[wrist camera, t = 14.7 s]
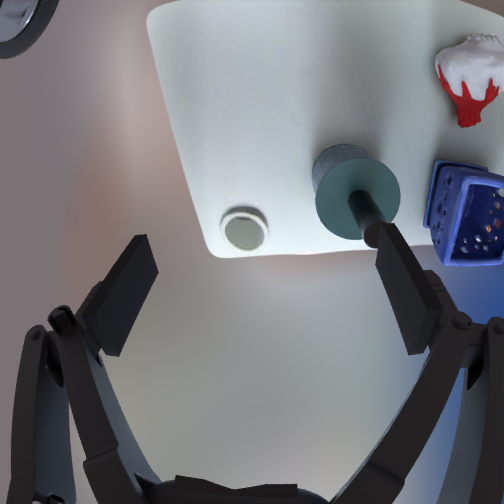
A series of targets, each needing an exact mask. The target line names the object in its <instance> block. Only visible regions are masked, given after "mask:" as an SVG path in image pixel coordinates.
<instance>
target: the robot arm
mask: <svg viewBox="0 0 504 504" xmlns="http://www.w3.org/2000/svg"><path fill="white" fill-rule="evenodd" d="M40 2H41V0H0V42H4V41H10V40H13V39H15V38H16V37H18V36H19V35H20V34H21V33H22V32H23V31H24V30H25V29H26V28H27V26H28V25H29V24H30V22H31V21H32V19H33V17H34V16H35V14H36V12H37V10H38V7H39V5H40ZM375 265H376V268H377V270H378V272H379V274H380V277H381V280H382V282H383V285H384V287H385V290H386V293H387V295H388V298H389V300H390V303H391V306H392V308H393V311H394V314H395V317H396V320H397V322H398V325H399V328H400V331H401V334H402V337H403V340H404V343H405V346H406V349H407V352H408V355H415V354H421V353H424V351H425V349H426V347H427V345H428V347H429V349H430V353H429V355H428V357H427V359H426V361H425V363H424V365H423V367H422V369H421V371H420V373H419V375H418V377H417V379H416V381H415V383H414V384H413V386H412V388H411V390H410V392H409V393H408V395H407V397H406V399H405V400H404V402H403V404H402V405H401V407H400V409H399V410H398V412H397V414H396V415H395V417H394V419H393V420H392V422H391V423H390V425H389V426H388V428H387V429H386V431H385V432H384V434H383V435H382V437H381V438H380V440H379V441H378V442H377V444H376V445H375V447H374V448H373V450H372V451H371V452H370V454H369V455H368V456H367V458H366V459H365V461H364V462H363V463H362V464H361V466H360V467H359V468H358V470H357V471H356V472H355V473H354V474H353V476H352V477H351V478H350V479H349V481H348V482H347V483H346V484H345V485H344V486H343V487H342V488H341V489H340V491H339V492H338V493H337V494H336V495H335V496H334V497H333V498H332V500H331V501H330V502H328V501H327V500H325V499H324V498H322V497H321V496H319V495H317V494H315V493H313V492H310V491H307V490H304V489H299V488H297V484H265V485H259V486H254V487H248V488H241V489H230V488H227V487H224V486H221V485H218V484H215V483H213V482H210V481H207V480H204V479H198V478H192V477H185V476H179V475H176V477H175V480H170V481H165V482H161V480H160V479H159V477H158V476H157V475H156V474H155V473H154V472H153V470H152V469H151V468H150V466H149V464H148V463H147V461H146V459H145V457H144V455H143V453H142V452H141V449H140V448H139V446H138V444H137V442H136V440H135V438H134V436H133V434H132V431H131V429H130V427H129V425H128V423H127V421H126V419H125V416H124V414H123V412H122V410H121V407H120V405H119V403H118V400H117V398H116V395H115V393H114V391H113V388H112V386H111V383H110V380H109V378H108V375H107V372H106V369H105V367H104V364H103V361H102V358H101V356H100V355H99V351H100V349H101V348H102V349H103V351H104V352H105V354H106V355H109V356H116V357H119V355H120V353H121V351H122V349H123V346H124V344H125V342H126V339H127V337H128V335H129V333H130V331H131V328H132V326H133V324H134V322H135V320H136V318H137V316H138V313H139V311H140V309H141V307H142V305H143V303H144V301H145V299H146V297H147V295H148V293H149V291H150V289H151V287H152V285H153V283H154V281H155V279H156V277H157V275H158V273H159V272H158V269H157V266H156V263H155V260H154V257H153V254H152V251H151V248H150V245H149V241H148V238H147V235H146V234H144V235H135V236H134V237H133V239H132V240H131V242H130V243H129V244H128V246H127V247H126V248H125V250H124V251H123V253H122V254H121V255H120V257H119V258H118V260H117V261H116V263H115V264H114V265H113V267H112V268H111V270H110V271H109V273H108V274H107V276H106V277H105V279H104V280H103V281H100V282H98V283H97V284H96V285H95V286H94V287H93V288H92V289H91V291H90V293H89V294H88V296H87V297H86V299H85V301H84V302H83V303H82V305H81V306H80V308H79V309H78V311H77V312H76V314H75V316H74V314H73V313H72V311H71V309H70V307H69V306H67V305H62V306H59V307H57V308H55V309H54V310H53V311H52V312H51V313H50V314H49V316H48V322H49V324H50V325H51V326H52V328H53V331H48V332H47V331H46V330H45V328H44V326H42V325H36V326H34V327H32V328H31V329H30V330H29V331H28V332H27V334H26V336H25V341H24V345H23V350H22V355H21V360H20V366H19V371H18V377H17V384H16V391H15V399H14V408H13V419H12V435H11V481H10V486H9V491H8V496H7V502H6V504H76V490H75V482H74V475H73V467H72V457H71V445H70V430H69V402H70V406H71V410H72V414H73V417H74V421H75V424H76V427H77V431H78V434H79V437H80V440H81V443H82V446H83V449H84V452H85V454H86V460H85V461H84V462H83V468H84V471H85V474H86V476H87V479H88V481H89V484H90V486H91V489H92V491H93V493H94V496H95V498H96V500H97V502H98V504H392V503H393V502H394V500H395V499H396V497H397V496H398V494H399V493H400V491H401V490H402V488H403V486H404V483H405V478H406V476H407V475H408V473H409V472H410V470H411V468H412V467H413V465H414V464H415V462H416V460H417V458H418V457H419V455H420V453H421V452H422V450H423V448H424V446H425V444H426V442H427V441H428V439H429V437H430V435H431V433H432V431H433V429H434V427H435V425H436V423H437V421H438V419H439V417H440V415H441V413H442V411H443V409H444V406H445V404H446V402H447V400H448V398H449V395H450V393H451V390H452V388H453V386H454V383H455V381H456V378H457V375H458V372H459V370H460V367H462V368H465V370H464V382H463V390H462V398H461V406H460V412H459V419H458V424H457V430H456V435H455V439H454V444H453V449H452V452H451V457H450V461H449V464H448V468H447V472H446V475H445V479H444V482H443V485H442V488H441V491H440V495H439V498H438V500H437V503H436V504H501V501H502V497H503V493H504V319H503V318H500V317H492V318H491V319H490V320H489V321H488V323H487V325H486V324H479V323H473V322H472V319H471V318H470V317H469V316H468V315H467V314H465V313H464V312H460V311H458V309H457V307H456V306H455V304H454V302H453V300H452V299H451V297H450V295H449V293H448V291H446V288H445V286H444V285H443V283H442V281H441V279H440V277H439V276H438V275H437V274H436V273H434V272H433V271H432V270H423V269H422V267H421V266H420V264H419V262H418V261H417V259H416V257H415V256H414V254H413V252H412V251H411V249H410V247H409V246H408V244H407V242H406V241H405V239H404V238H403V236H402V234H401V233H400V231H399V230H398V228H397V227H396V225H395V224H394V223H382V224H381V231H380V238H379V245H378V252H377V258H376V264H375Z"/></svg>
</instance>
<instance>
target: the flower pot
mask: <svg viewBox="0 0 504 504" xmlns="http://www.w3.org/2000/svg"><path fill="white" fill-rule="evenodd" d="M500 188H502V189H504V176H502V175H498V174H494V173H490V172H488V168H486V167H482V166H477V165H472V164H466V163H460V162H454V161H446V160H435V162H434V166H433V172H432V178H431V184H430V189H429V194H428V199H427V205H426V210H425V215H424V221H423V226H424V228H430V231H431V237H432V241H433V245H434V247H435V250H436V252H437V255H438V256H439V258H440V260H441V262H442V263H443V264H444V265H445V266H486V265H497V264H502V263H503V262H504V197H502V196H500V195H499V194H498V191H499V189H500ZM493 194H495V197H494V196H493ZM497 202H498V203H499V204H500V208H499V210H498V208H497V207H496V204H497ZM491 211H492V213H493V214H491ZM497 219H498V220H499V221H500V222H501V224H500V228H497V227H496V226H495V224H496V220H497ZM488 225H490V227H491V231H490V232H488V231H487V229H486V228H487V226H488ZM496 237H497V240H495V238H496ZM475 238H479V239H480V240H481V242H478V241H477V240H476V239H475ZM489 240H490V242H489ZM464 241H465V242H467V243H465V242H464ZM454 244H455V245H454ZM475 247H476V248H475ZM477 248H478V249H477ZM483 248H486V249H488V251H486V250H484V249H483ZM461 249H465V250H466V251H467V252H468V253H464V252H463V251H462V250H461Z"/></svg>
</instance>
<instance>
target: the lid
mask: <svg viewBox="0 0 504 504" xmlns="http://www.w3.org/2000/svg"><path fill="white" fill-rule="evenodd" d="M315 205H316V210H317V213H318V216H319V218H320V220H321V222H322V223H323V225H324V226H325V227H326V228H327V229H328V230H329V231H330V232H332V233H333V234H335V235H337V236H339V237H341V238H345V239H350V240H361V239H364V242H365V243H366V245H367V246H369V247H371V248H375V249H377V248H378V245H379V238H380V231H381V224H382V223H391V222H392V221H393V219H394V217H395V216H396V214H397V211H398V208H399V205H400V188H399V184H398V181H397V179H396V177H395V176H394V174H393V173H392V172H391V170H390V169H389V168H388V167H387V166H385V165H384V164H383V163H381V162H379V161H377V160H375V159H372V158H368V157H352V158H347V159H344V160H342V161H340V162H338V163H336V164H335V165H333V166H332V167H331V168H330V169H329V170H328V171H327V172H326V173H325V174H324V175H323V177H322V178H321V180H320V182H319V184H318V187H317V190H316V196H315Z"/></svg>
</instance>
